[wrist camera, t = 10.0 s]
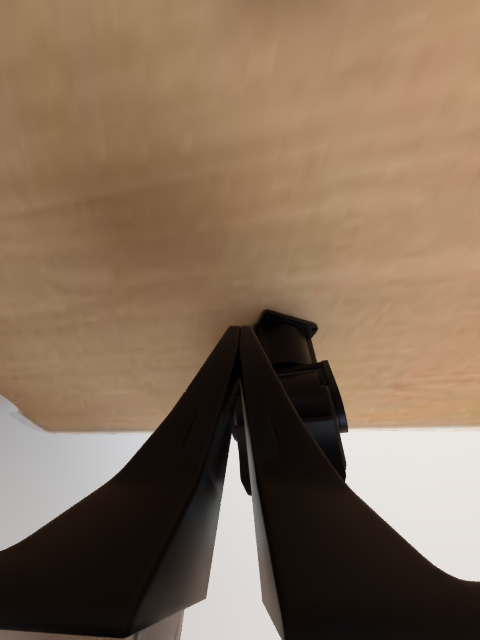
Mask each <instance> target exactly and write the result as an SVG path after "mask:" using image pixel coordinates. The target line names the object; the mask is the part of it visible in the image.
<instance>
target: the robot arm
mask: <svg viewBox="0 0 480 640" xmlns="http://www.w3.org/2000/svg"><path fill="white" fill-rule="evenodd" d="M266 314H268V316H266ZM317 330H318V327H317V325H316V324H314V323H311V322H307V321H304V320H300V319H297V318H293V317H290V316H287V315H283V314H280V313H276V312H273V311H269V310H265V311H264V312H263V313H262V315H261V317H260V319H259V321H258V323H257V324H255V325H254V326H253V328H252V327H251V326H241V327H240V326H229V328H228V329H227V330H226V332H225V333H224V335H223V336H222V338H221V339H220V341H219V342H218V344H217V345H216V347H215V348H214V350H213V351H212V353H211V354H210V355H209V357H208V358H207V360H206V361H205V363H204V364H203V366H202V367H201V369H200V370H199V372H198V373H197V375H196V376H195V378H194V379H193V380H192V382H191V383H190V385H189V386H188V388H187V389H186V392H184V394H183V395H182V396H181V398H180V399H179V401H178V402H177V404H176V405H175V406H174V408H173V409H172V411H171V412H170V413H169V415H168V416H167V417H166V418H165V419H164V421H163V422H162V423H161V424H160V426H159V427H158V428H157V429H156V430H155V432H154V433H153V434H152V435H151V436H150V438H149V439H148V440H147V441H146V442H145V443H144V444H143V446H142V447H141V448H140V449H139V450H138V452H137V453H136V454H135V455H134V456H133V457H132V459H131V460H130V461H129V462H128V463H127V464H126V465H125V467H124V468H123V469H122V470H121V471H120V472H119V473H118V474H116V475H115V476H114V477H113V478H112V479H111V480H109V481H108V482H107V483H105V484H104V485H103V486H101V487H100V488H98V489H97V490H95V491H94V492H93V493H91V494H90V495H88V496H87V497H85V498H84V499H82V500H81V501H80V502H78V503H77V504H75V505H74V506H72V507H71V508H70V509H68V510H66V511H65V512H64V513H62V514H61V515H59V516H58V517H56V518H55V519H54V520H52V521H51V522H49V523H48V524H46V525H45V526H43V527H42V528H40V529H39V530H38V531H36V532H35V533H33V534H32V535H30V536H29V537H27V538H26V539H24V540H22V541H21V542H19V543H17V544H15V545H13V546H11V547H9V548H7V549H5V550H2V551H0V640H180V636H181V629H182V622H183V615H184V609H186V608H187V607H190V606H192V605H194V604H195V603H198V602H200V601H202V600H204V599H205V598H206V595H207V589H208V582H209V575H210V569H211V563H212V556H213V550H214V543H215V536H216V531H217V524H218V518H219V511H220V505H221V504H220V502H221V498H222V491H223V485H224V478H225V472H226V465H227V459H228V453H229V446H230V440H231V434H232V435H233V437H234V439H235V440H236V441H237V442H238V449H239V460H240V477H241V482H242V484H243V486H244V488H245V490H246V492H247V494H248V495H250V496H252V502H253V512H254V522H255V532H256V540H257V541H256V542H257V550H258V561H259V571H260V581H261V589H262V590H261V591H262V602H263V603H264V605H265V607H266V609H267V611H268V613H269V615H270V617H271V619H272V621H273V623H274V625H275V627H276V629H277V631H278V633H279V635H280V637H281V639H282V640H480V582H475V581H465V580H461V579H458V578H455V577H453V576H451V575H449V574H447V573H445V572H444V571H442V570H441V569H439V568H437V567H436V566H434V565H433V564H432V563H431V562H429V561H428V560H427V559H426V558H425V557H423V556H422V555H421V554H420V553H419V552H418V551H417V550H416V549H415V548H414V547H412V546H411V545H410V544H409V543H408V542H407V541H406V540H405V539H404V538H403V537H402V536H401V535H399V534H398V533H397V532H396V531H395V530H394V529H393V528H392V527H391V526H390V525H389V524H387V523H386V522H385V521H384V520H383V519H382V518H381V517H380V516H379V515H378V514H377V513H376V512H375V511H373V510H372V509H371V508H370V507H369V506H368V505H367V504H366V503H365V502H364V501H363V500H362V499H360V498H359V497H358V496H357V495H356V494H355V493H354V492H353V491H352V490H351V489H350V488H349V487H348V485H347V484H346V483H345V479H346V472H345V470H346V461H345V456H344V451H343V447H342V442H341V437H340V433H346V432H348V425H347V419H346V415H345V410H344V406H343V402H342V399H341V395H340V392H339V389H338V387H337V384H336V381H335V379H334V376H333V374H332V371H331V368H330V366H329V363H328V360H324V361H321V362H318V363H317V360H316V356H315V352H314V348H313V345H312V341H311V338H312V337H313V335H314V334H315V333H316V332H317Z"/></svg>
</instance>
